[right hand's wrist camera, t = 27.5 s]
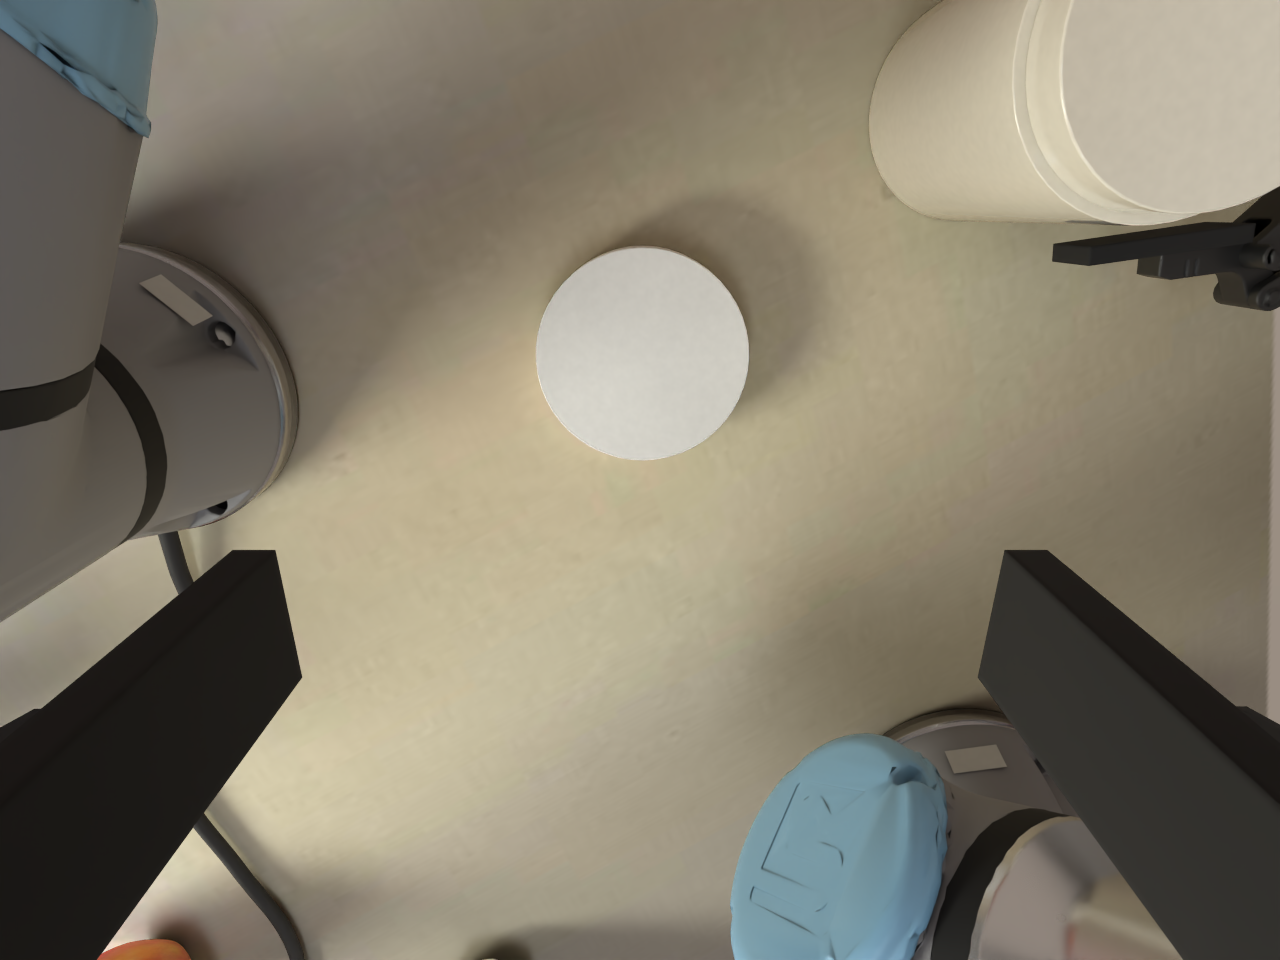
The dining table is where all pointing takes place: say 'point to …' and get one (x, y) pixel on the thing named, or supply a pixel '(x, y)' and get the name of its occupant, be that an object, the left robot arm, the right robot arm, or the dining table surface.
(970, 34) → the jar
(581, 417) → the lid
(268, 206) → the dining table surface
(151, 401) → the right robot arm
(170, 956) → the apple
